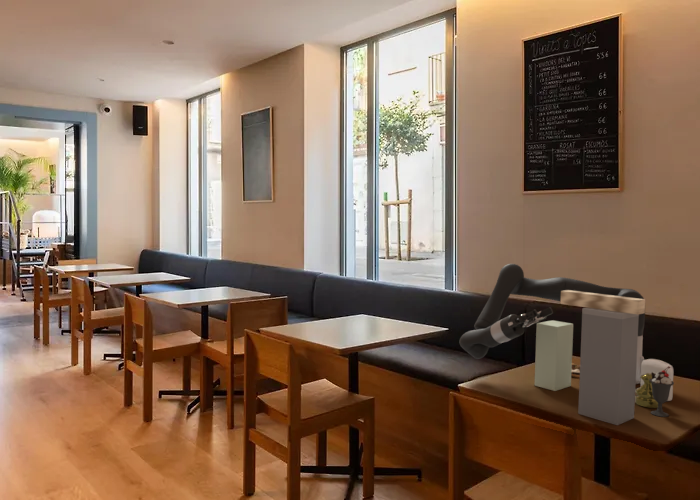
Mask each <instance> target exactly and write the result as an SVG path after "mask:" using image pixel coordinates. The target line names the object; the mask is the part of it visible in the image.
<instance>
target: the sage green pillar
mask: <svg viewBox="0 0 700 500" xmlns="http://www.w3.org/2000/svg"><path fill="white" fill-rule="evenodd" d="M535 336H536V337H535V362H534V386H535V387H540V388H541V389H542V388H543V389H546V390H551V391H553V392H556V391H559V390H562V389H566V388H568V387H571V385H572V377H571V370H572V364H573V343H574V340H573V339H574V323H571V322H565V321H559V320H554V319H553V320H547V321H542V322H541V321H540V322H537V323H536V333H535Z"/></svg>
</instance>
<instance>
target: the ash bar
mask: <svg viewBox="0 0 700 500" xmlns="http://www.w3.org/2000/svg"><path fill="white" fill-rule="evenodd" d="M560 304H561V305H568V306H575V307H580V308H581V307H583V308H587V307H588V308H595V309H602V310H609V311H616V312H623V313H630V314H638V315H639V314H643V313H645V314H646V299H645V298H644V299H639V298H630V297H622V296H614V295H605V294H597V293H589V292H580V291H572V290H564V291H561V302H560Z"/></svg>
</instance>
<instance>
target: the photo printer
mask: <svg viewBox="0 0 700 500" xmlns="http://www.w3.org/2000/svg"><path fill="white" fill-rule="evenodd" d="M668 366H669V367H670V368H669V369H668ZM666 368H667V369H668V370H667V369H666ZM665 369H666V370H667V374H669V376H668V377H669V378H670V379H671V381H673V382H674V367H673V365H671V364H670V363H668V362H666V361H663V360H660V359H656V358H648V359H644V360H643V362H642V364H641V375H643V374H646V373H654V374H656V373H658V372H662V370H665ZM666 370H665V371H666ZM643 384H644V381H643V380H642V379H641V383H640V386H642V385H643ZM673 393H674V384H673V385H672V386H671V388H670V393H669V397H668V400H667V401H666V402H671V401H672V400H673V395H674V394H673Z"/></svg>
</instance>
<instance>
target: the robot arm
mask: <svg viewBox="0 0 700 500" xmlns="http://www.w3.org/2000/svg"><path fill="white" fill-rule="evenodd" d="M564 290H572V291H580V292H589V293H597V294H605V295H614V296H622V297H630V298H639V299H645V298H644V296H643V295H642V294H641V293H640V292H639V291H637V290H635V289H633V288H621V287H611V286H604V285H599V284H595V283H592V282H587V281H583V280H578V279H575V278H570V277H569V278H568V277H560V276H558V277H552V278H551V277H550V278H545V279H533V278H529V277H525V273H524V270H523V268H522V267H521V266H520V265H519V264H516V263H508V264H505V265H504V266H503V267H502V268H501V269H500V271H499V274H498V277H497V281H496V282H495V286H494V288H493V290H492V293H491V295H490V296H489V298H488V299H487V302H486V303H485V305H484V307H483V308H482V310H481V312H480V314H479V316H477V319H476V320H475V323H474V326H473V327H474V329H473V330H468V331H466V332H464V333H463V334H462V335H461V336H460V338H459V342H458V343H459V345H460V347H461V348H462V349H463V350H464V351H465V352H466V353H468V354H469V356H471V357H472V358H474V359H475V360H480V359H482V358H484V357H485V356H486V355H487V354H488V351H489V349H490V348H494V347H497V346H498V345H501V344H502V343H507V342H509V341H512V340H513V339H515V338H518V337H520V336H522V335H523V334H524V333H525V330H526V328H528V327H530V326H532V325H535V324H537V323H540V322H541V321H543V320H546V319H547V317H548V316H550V315H552V314H554V311H553V308H552V307H550V306H549V307H546V308H544V309H542V310H540V311H537V309H533V310H530V311H528V312H527V313H522V314H518V315H517V314H514V313H513V314H510V315H507V316H506V317H504V318H502V319H501V316H502V314H503V311H504V309H505V306H506V304H507V302H508V299H509V298H510V295H515V296H526V297H533V298H534V297H535V298H541V299H545V300H551V301H556V302H560V303H561V291H564ZM645 317H646V312H645V313H643V314H639V319H638V341H637V363H636V385H638V384H641V378H640V376H641V364H642V362H643V360H645V358H644V356H643V339H644V337H643V335H644V328H645V319H646V318H645Z"/></svg>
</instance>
